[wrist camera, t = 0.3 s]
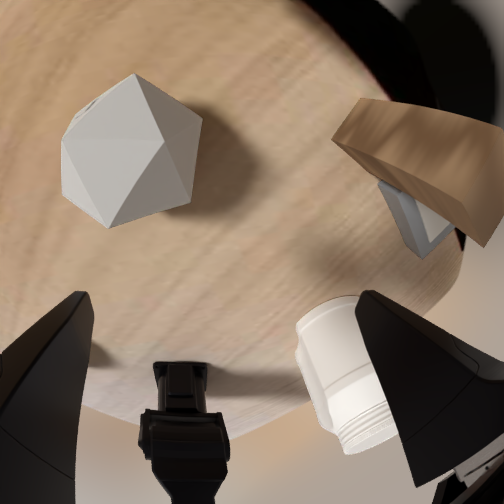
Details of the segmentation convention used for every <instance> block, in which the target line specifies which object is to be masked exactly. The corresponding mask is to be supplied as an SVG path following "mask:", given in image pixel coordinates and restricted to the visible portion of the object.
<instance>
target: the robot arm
mask: <svg viewBox="0 0 504 504" xmlns="http://www.w3.org/2000/svg"><path fill="white" fill-rule="evenodd" d="M355 316H356V319H357V322H358V326H359V329H360V332H361V335H362V338H363V341H364V344H365V347H366V350H367V353H368V355H369V358H370V360H371V362H372V365H373V367H374V370H375V372H376V374H377V377H378V379H379V382H380V384H381V387H382V390H383V392H384V395H385V397H386V400H387V403H388V405H389V408H390V411H391V413H392V416H393V419H394V422H395V424H396V427H397V430H398V433H399V436H400V438H401V442H402V445H403V448H404V452H405V455H406V457H407V461H408V464H409V467H410V471H411V474H412V478H413V481H414V484H415V486H416V488H417V487H419V486H422V485H424V484H426V483H428V482H430V481H431V480H433V479H435V478H437V477H439V476H441V475H443V474H444V473H446V472H448V471H450V470H451V469H453V470H454V472H452V473H451V474H450V475H448V476H447V477H446V478H445V479H443V480H442V481H441V482H439V483H438V485H437V489H436V492H435V496H434V499H433V502H432V504H504V362H502V361H499V360H497V359H495V358H494V357H491V356H490V355H488V354H486V353H484V352H482V351H480V350H478V349H476V348H474V347H472V346H471V345H469V344H467V343H465V342H464V341H462V340H460V339H458V338H457V337H455V336H453V335H452V334H449V333H448V332H446V331H445V330H443V329H441V328H440V327H438V326H436V325H434V324H432V323H431V322H429V321H428V320H426V319H424V318H422V317H421V316H419V315H417V314H415V313H414V312H412V311H410V310H408V309H407V308H405V307H403V306H401V305H400V304H398V303H396V302H394V301H393V300H391V299H389V298H387V297H385V296H384V295H382V294H380V293H378V292H376V291H375V290H365V291H363V292H362V293H361V295H360V298H359V300H358V302H357V305H356V307H355ZM93 324H94V311H93V307H92V304H91V300H90V297H89V294H88V293H87V292H86V291H75V292H73V293H72V294H71V295H69V296H68V297H67V298H66V299H64V300H63V301H62V302H61V303H59V304H58V305H57V306H55V307H54V308H53V309H52V310H50V311H49V312H48V313H47V314H46V315H44V316H43V317H42V318H41V319H39V320H38V321H37V322H36V323H35V324H34V325H32V326H31V327H30V328H29V329H28V330H26V331H25V332H24V333H23V334H22V335H21V336H20V337H18V338H17V339H16V340H15V341H14V342H13V343H12V344H10V345H9V346H8V347H7V348H6V349H5V350H4V351H3V352H2V354H0V504H75V463H76V445H77V435H78V425H79V417H80V409H81V403H82V396H83V390H84V384H85V379H86V374H87V369H88V363H89V356H90V347H91V339H92V331H93ZM153 370H154V374H155V379H156V383H157V387H158V410H150V409H145V413H144V414H141V418H140V432H139V439H138V446H139V447H140V448H141V449H142V450H143V453H144V454H145V459H146V460H151V463H152V472H153V473H154V475H155V477H156V479H157V480H158V482H159V483H160V484H161V486H162V487H163V488H164V489H165V491H166V492H167V494H169V496H170V497H171V502H172V504H215V499H214V497H215V495H216V493H217V491H218V489H219V488H220V486H221V484H222V482H223V481H224V480H225V477H226V475H227V473H228V470H227V463H226V462H228V461H229V459H230V443H229V438H228V434H227V431H226V427H225V424H224V420H223V416H222V413H221V412H217V413H207V410H206V400H205V391H206V383H207V364H205V363H163V362H155V363H153Z"/></svg>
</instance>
